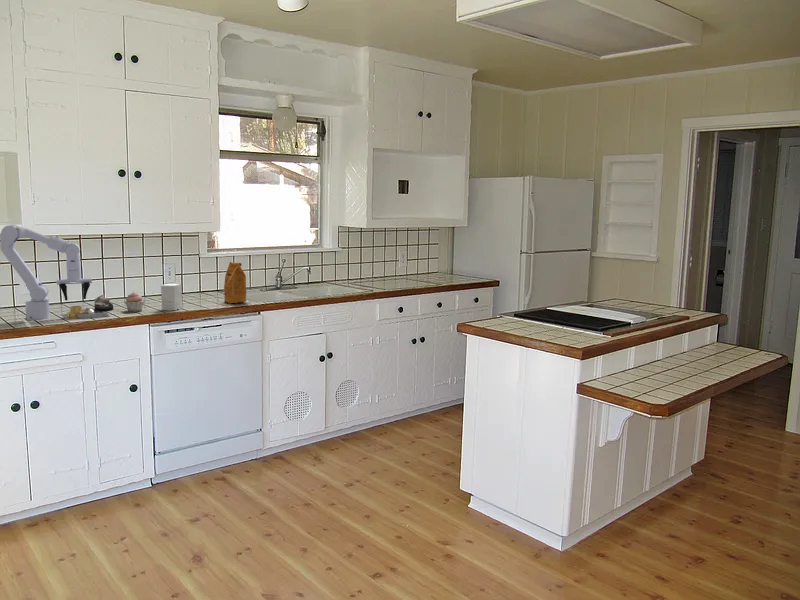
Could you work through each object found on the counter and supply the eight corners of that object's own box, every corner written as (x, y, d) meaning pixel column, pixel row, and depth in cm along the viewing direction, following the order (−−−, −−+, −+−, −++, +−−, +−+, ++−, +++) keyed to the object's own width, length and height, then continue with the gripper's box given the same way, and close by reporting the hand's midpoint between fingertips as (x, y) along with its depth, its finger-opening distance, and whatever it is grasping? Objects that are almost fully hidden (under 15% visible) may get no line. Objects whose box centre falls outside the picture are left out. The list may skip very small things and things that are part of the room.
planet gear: (68, 318, 306) (68, 308, 305) (65, 315, 312) (65, 306, 311) (86, 316, 310) (86, 307, 310) (83, 314, 316) (82, 305, 316)
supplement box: (182, 308, 344) (181, 283, 342) (174, 311, 337) (174, 285, 335) (169, 308, 345) (168, 283, 343) (161, 310, 338) (160, 285, 336)
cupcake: (132, 309, 340) (131, 289, 338) (148, 310, 338) (147, 290, 336) (120, 312, 331) (119, 291, 329) (137, 313, 329) (136, 292, 327)
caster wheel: (106, 318, 327) (88, 314, 328) (120, 310, 337) (102, 306, 338) (106, 306, 324) (87, 302, 326) (120, 297, 335) (101, 294, 336)
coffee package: (238, 300, 375) (238, 260, 372) (248, 303, 366) (247, 262, 362) (221, 301, 369) (220, 261, 366) (231, 304, 359) (230, 263, 356)
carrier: (67, 322, 302) (67, 314, 302) (60, 316, 315) (60, 309, 315) (110, 318, 312) (110, 310, 312) (102, 313, 326) (101, 306, 325)
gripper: (57, 271, 301) (59, 301, 303) (92, 269, 309) (94, 299, 311) (54, 270, 306) (56, 299, 308) (89, 268, 315) (91, 297, 317)
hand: (75, 299), depth 310 cm, fingers open, 7 cm apart
